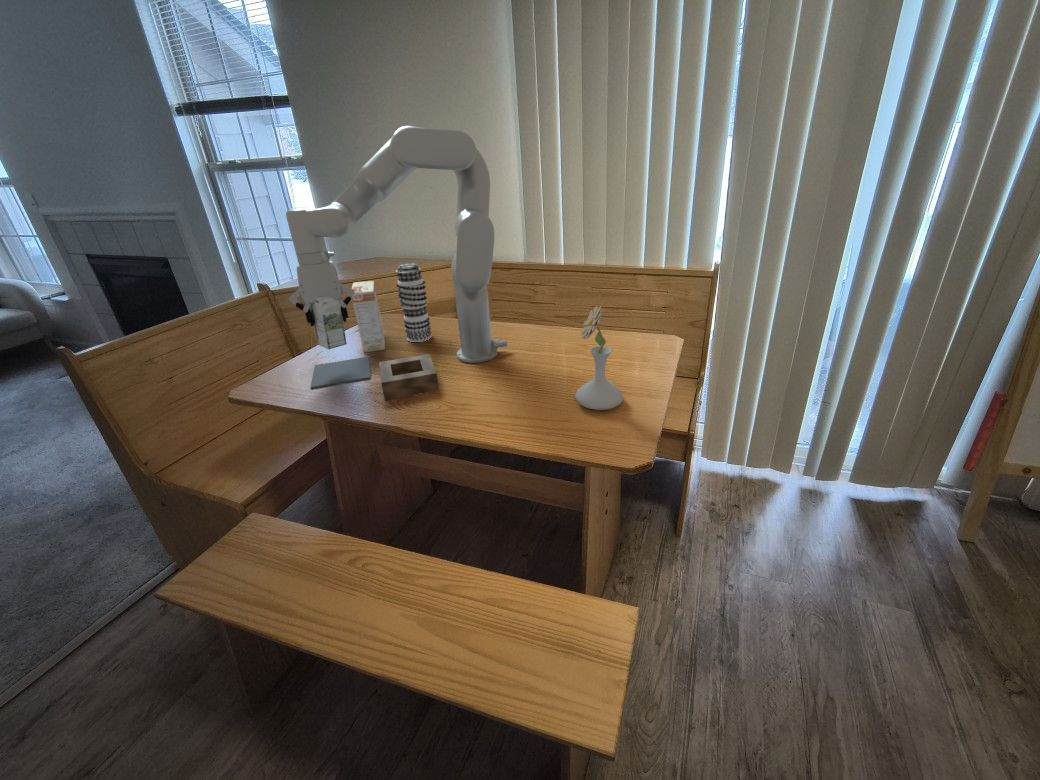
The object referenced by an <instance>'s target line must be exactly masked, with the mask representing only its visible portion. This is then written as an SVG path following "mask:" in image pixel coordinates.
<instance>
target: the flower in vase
mask: <svg viewBox="0 0 1040 780" xmlns="http://www.w3.org/2000/svg"><path fill="white" fill-rule="evenodd" d="M588 313H589V315H588V317H587V319H586V320H585V321H584V322H583V326H584V327H583V328H582V330H581V331H580V335H582V336H581V339H584V340H585V339H586V340H587V339H589V338H590V337H591V336H592V335H593V333H594V332H595V330H597V331H598V332H597V333H596V335H595V338H594V341H595V342H596V343H597V344H598V345H597V346H592V347H591V348H590V349H589V352H590V353H591V355H592V357H593V359H594V368H595V369H594V371H595V372H594V377H593V379H591V380H590V381H588V382H586V383H585V384H583V385H582V386H581V387H580V388H578V389H577V391H576V392H575V396H574V398H575V399H576V401H577V402H578V403H579V404H580V405H581V406H582V407H585V408H587V409H589V410H595V411H596V410H597V411H601V410H602V411H603V410H604V411H605V410H610V409H613V408H616V407H618V406H619V405H620V404H622V402H623V400H624V394H623V393H622V391H621V390H620V389H619V388H618V387H617V386H616V385H615V384H613V383H612V382H610V381H608V380H607V378H606V374H605V373H606V363H607V360H608V357H609V356H610V354H611V353H612V352H613V350H612V348H611V347H609V346H605V344H606V342H607V341H606V339H605V338H604V336H603V335H602V334H603V333H602V332H601V329H600V327H599V324H600V321H601V320H602V314H603V308H602V306H601V305H600V306H599V307H598V305H596V306H595V307H594V308H593V310H590V311H589V312H588Z"/></svg>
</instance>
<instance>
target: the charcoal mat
mask: <svg viewBox="0 0 1040 780" xmlns="http://www.w3.org/2000/svg"><path fill="white" fill-rule="evenodd" d="M371 379H372V374H371V360H370V356H364V357H358V358H357V357H356V358H350V359H344V360H338V361H333V362H331V361H330V362H326V363H319V364H314V367H313V374H312V378H311V382H310V389H311V390H313V388H314V389H319V387H320V388H325V387H331V386H337V385H342V384H349V383H355V382H360V381H366V380H371Z"/></svg>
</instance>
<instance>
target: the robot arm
mask: <svg viewBox="0 0 1040 780" xmlns="http://www.w3.org/2000/svg"><path fill="white" fill-rule="evenodd" d="M416 169H426V170H441V171H443V170H444V171H452V172H454V174H455V177H456V181H457V201H456V203H457V204H456V216H455V222H454V231H455V235H456V238H457V239H456V253H455V255H454V256H453V258H452V261H451V267H450V268H451V269H450V270H451V276H452V283H453V289H454V297H455V298H454V300H455V306H456V315H457V316H456V317H457V323H458V332H459V333H458V334H459V340H460V343H459V344H460V349H458V351H456V358H457V359H458V360H459V361H461V362H464V363H470V364H478V363H485V362H489V361H491V360H493V359H495V358H496V357H497V355H498V348H504V347H505V348H506V347H508V341H507V340H502V339H501V338H497V339H493V338H492V327H491V317H490V305H489V304H490V303H489V292H488V284H489V282H490V279H491V276H492V275H491V274H492V267H493V259H494V249H495V248H494V247H495V229H494V223H493V222H492V220H491V218H490V215H489V213H490V212H489V211H490V200H491V199H490V198H491V197H490V195H491V179H490V178H491V177H490V172H489V169H488V165H487V162H486V160H485V159H484V157H483V155H482V154H481V152H480V151H479V150H478V148H477V146H476V142H475V141H474V140H473V138H472V137H471V136H470V135H469V134H468V133H466V132H465V131H462V130H459V129H446V128H432V127H431V128H430V127H429V128H428V127H419V126H413V125H412V126H411V125H405V126H404V125H403V126H401V127H399V128H398V129H397V130H395V131H394V133H393V134H392V137H391V138H390V139H389V140H387V142H386V143H384V145H383V146H382V147H381V148H380V149H379V150H377V152H376V153H375V154H373V156H372V157H371V158H370V159H368V160H367V162H366V163H364V165H362V167H361V168H359V171H358V172H357V173H356V175H355V178H354V179H353V180H352V182H351V183H350V184H349V185H348V186H347V187H346V188H345V189H344V190H343V192H341V193H340V194H339V195H338V197H336V198H335V199H334V200H333V201H332V202H331V203H330V204H328V205H327V206H324V207H319V208H314V207H310V206H302V207H301V206H300V207H293V208H292V207H291V208H289V209H287V210H286V212H285V216H286V217H285V218H286V221H287V225H288V229H289V233H290V236H291V240H292V244H293V247H294V251H295V254H296V259H297V263H298V264H296V274H297V275H296V277H297V282H298V288H297V290H295V291H294V293H293V294H291V295H290V296H289V298H288V300H289V301H290V302H291V303H292V304H293V305H294V306H295V307H296V308H297V309H299V310H301V311H303V313H304V314H305V317H306V318H305V319H306V321H307V324H310V326H311V327H315V325H314V320H313V315H312V310H311V303H315V297H330V298H333V300H338V303H339V304H340V307H341V313H342V319H343V323H347V319H348V318H349V313H348V309H347V306H348V305H349V304H350V302H351V301H352V297H353V295H354V290H353V289H352V287H349V286H347V285H344V284H343V283H341V281H340V277H339V274H338V272H337V271H338V270H337V268H336V266H335V263H334V262H333V261H332V260H330V259H332V258H335V253H334V251H329V250H328V249H327V245H326V244H327V243H326V241H325V238H332V239H333V238H334V239H335V238H342V237H344V236H346V235H347V234H348V233H349V232H350V230H351V229H353V227H354V226H355V225H356V224H357V223H358V222H359V221H360V220H362V218H364V217H365V215H366V214H367V213H368V212H370V211H371V209H373V208H374V207H375V206H377V205H378V204H379V203H380V202H382V201H384V200H385V199H386V198H388V196H390V195H391V193H393V192H394V191H395V190H396V189H397V188H398V187H399V186H400V185H401V184H402V183H403V182H404V181H405V180H406V179H407V178H409V176H410V175H411V174H412V173H413V172H414V171H416ZM343 291H344V292H345V293H347V296H346V297H345V298H343ZM299 296H300V297H301V300H302V302H303V303H304V304H303V303H302V302H301V301H299V300H298V297H299Z"/></svg>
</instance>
